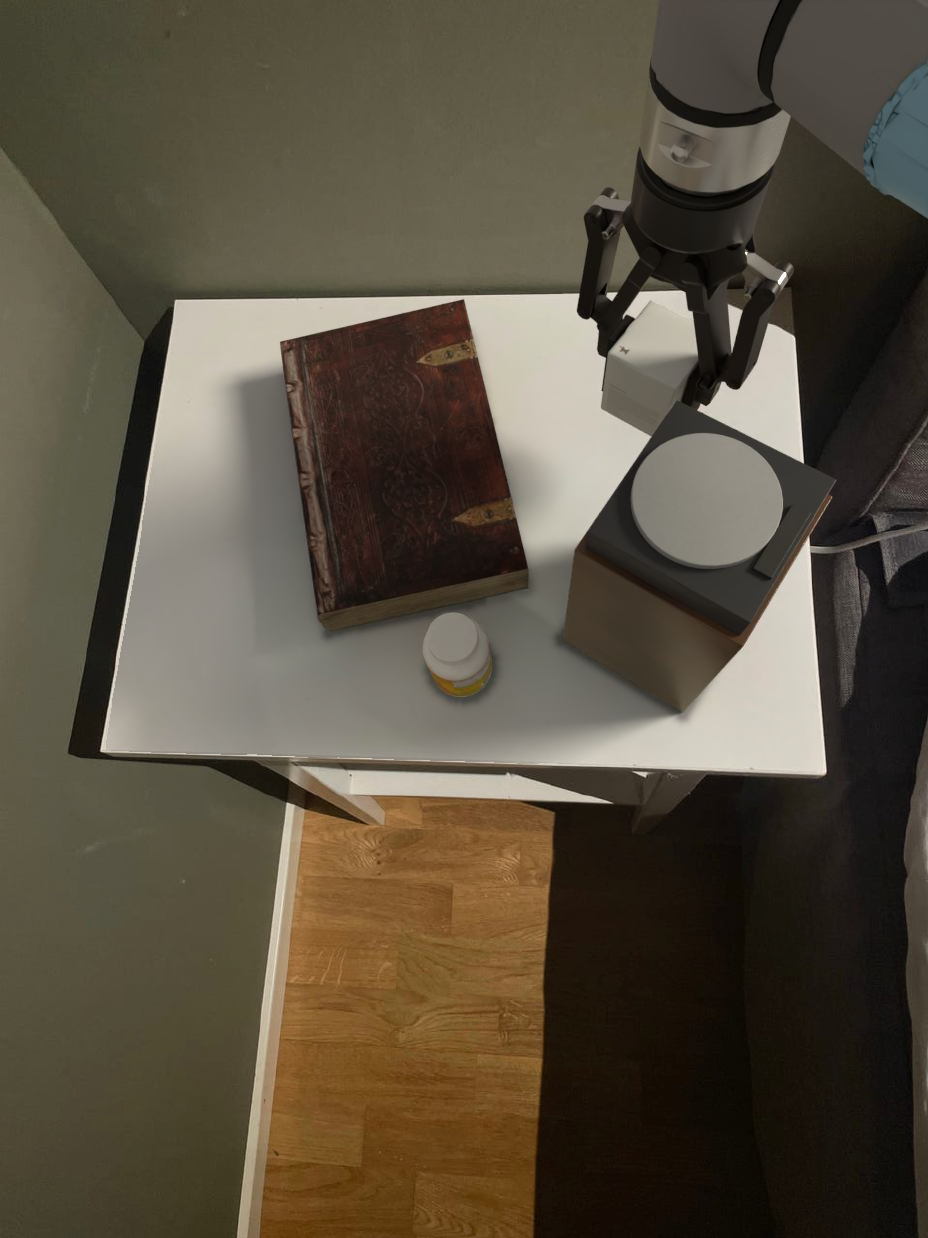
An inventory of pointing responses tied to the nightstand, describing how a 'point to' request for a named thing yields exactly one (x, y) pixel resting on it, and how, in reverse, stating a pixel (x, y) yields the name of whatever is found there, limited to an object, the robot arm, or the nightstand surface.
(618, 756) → the nightstand surface
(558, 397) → the nightstand surface
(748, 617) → the scale
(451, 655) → the supplement bottle
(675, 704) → the riser
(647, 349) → the product box
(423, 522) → the hardback book
